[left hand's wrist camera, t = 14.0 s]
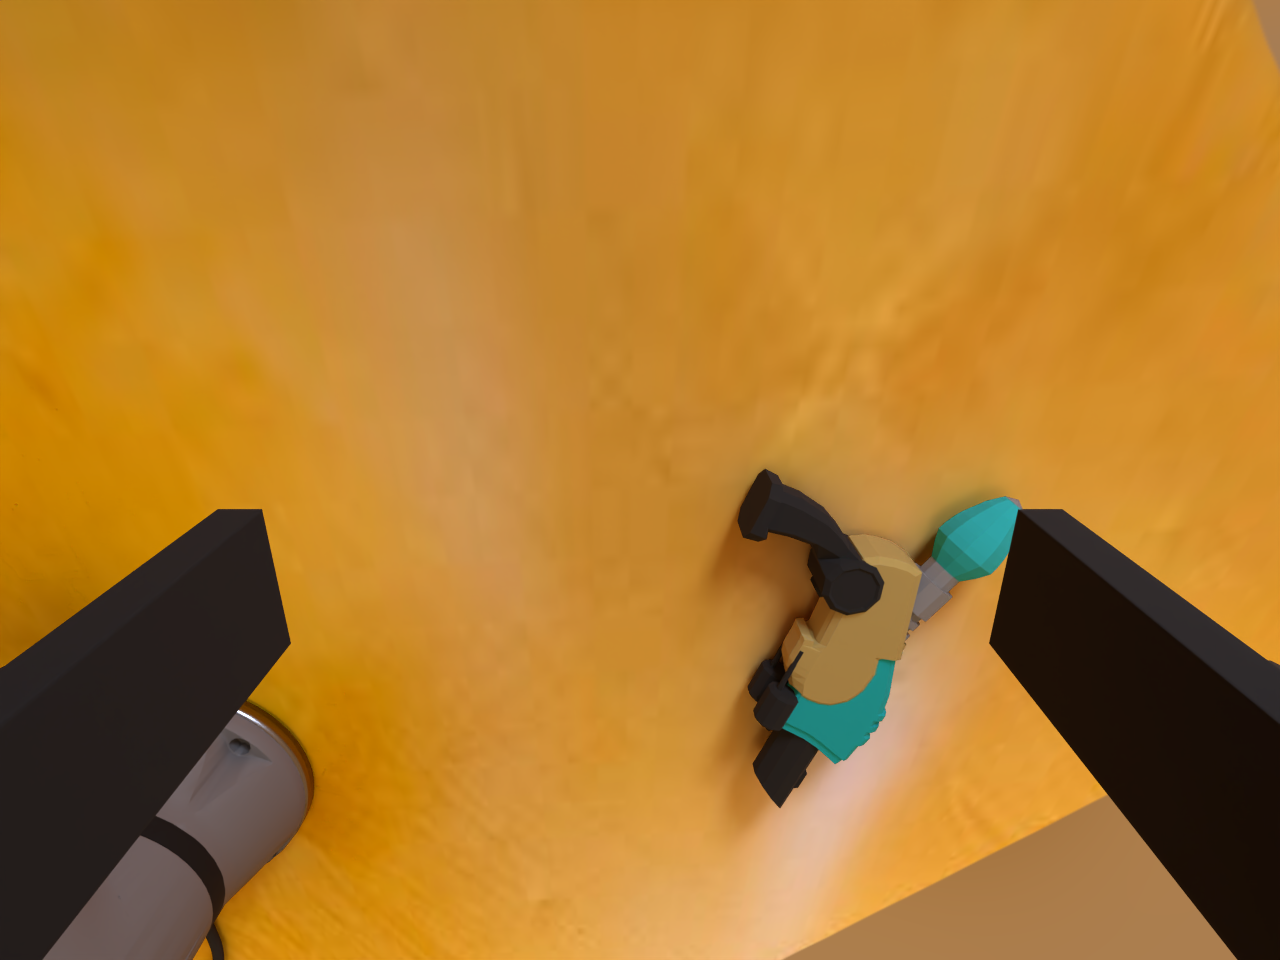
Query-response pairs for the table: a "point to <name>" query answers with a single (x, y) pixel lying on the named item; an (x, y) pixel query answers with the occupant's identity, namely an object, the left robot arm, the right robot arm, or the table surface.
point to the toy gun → (852, 622)
